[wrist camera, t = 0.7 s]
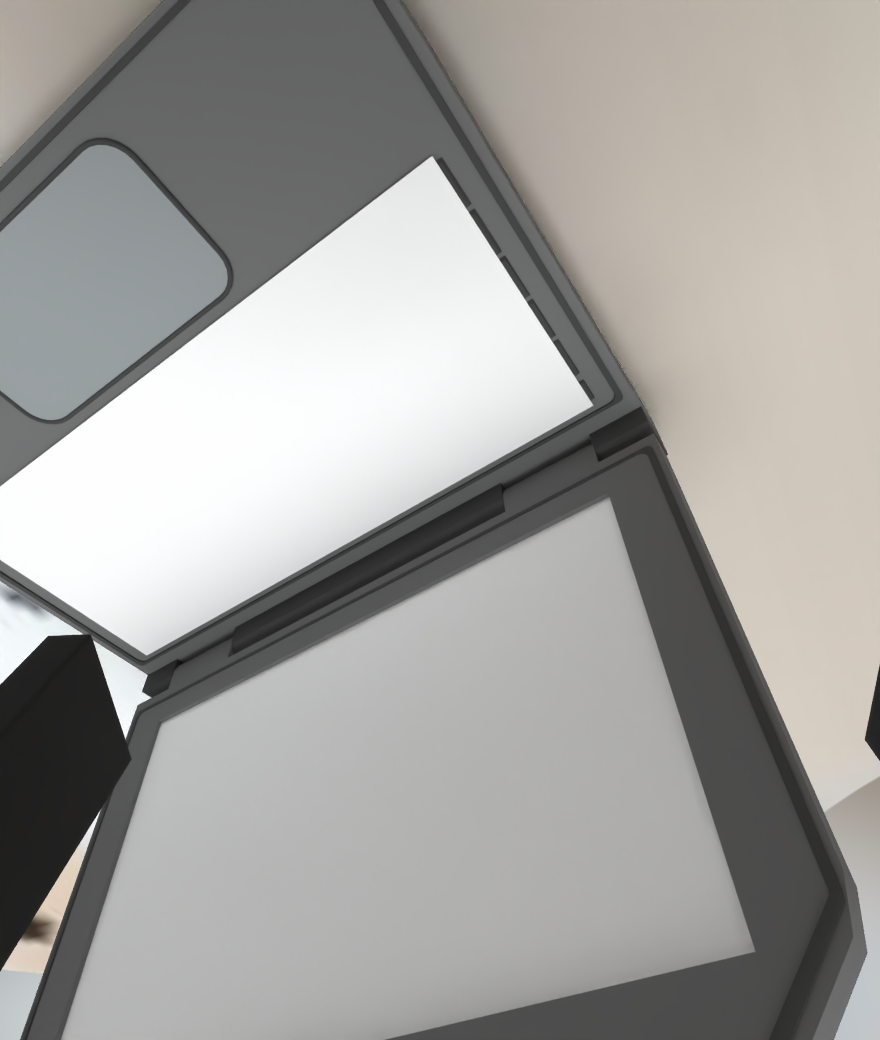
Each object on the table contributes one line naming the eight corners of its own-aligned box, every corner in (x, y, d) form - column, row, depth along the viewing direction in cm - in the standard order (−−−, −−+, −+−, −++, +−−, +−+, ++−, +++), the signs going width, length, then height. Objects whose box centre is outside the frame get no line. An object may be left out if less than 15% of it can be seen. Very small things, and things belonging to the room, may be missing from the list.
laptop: (319, -146, 26) (-910, -790, 2) (663, 437, 43) (976, 1118, 19) (-213, 395, 40) (-1182, 1143, 16) (206, 676, 56) (47, 1246, 32)
